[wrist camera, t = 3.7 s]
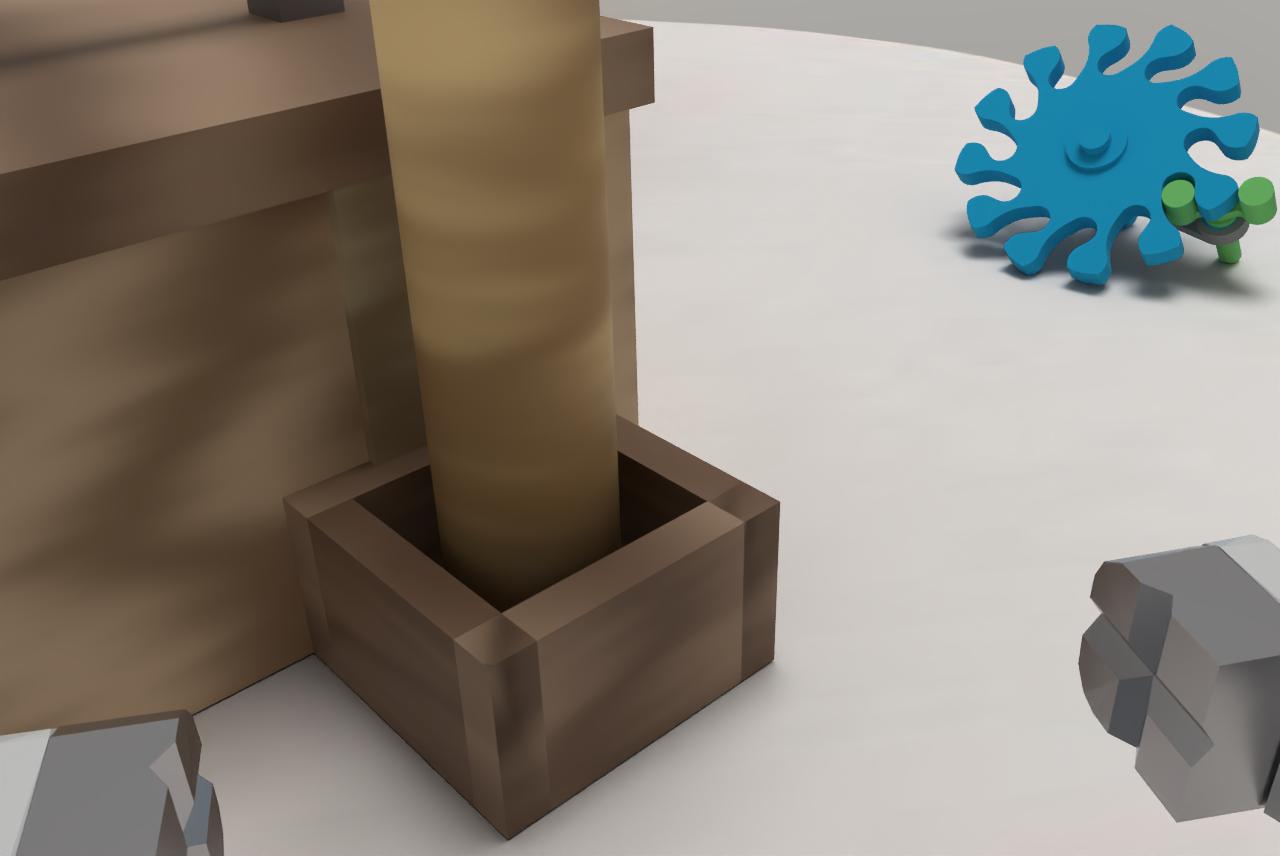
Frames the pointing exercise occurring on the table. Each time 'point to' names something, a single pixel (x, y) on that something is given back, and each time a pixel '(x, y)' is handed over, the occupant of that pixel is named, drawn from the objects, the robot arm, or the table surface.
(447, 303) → the tan cylinder
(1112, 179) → the gear
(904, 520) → the table surface
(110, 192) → the toolbox
